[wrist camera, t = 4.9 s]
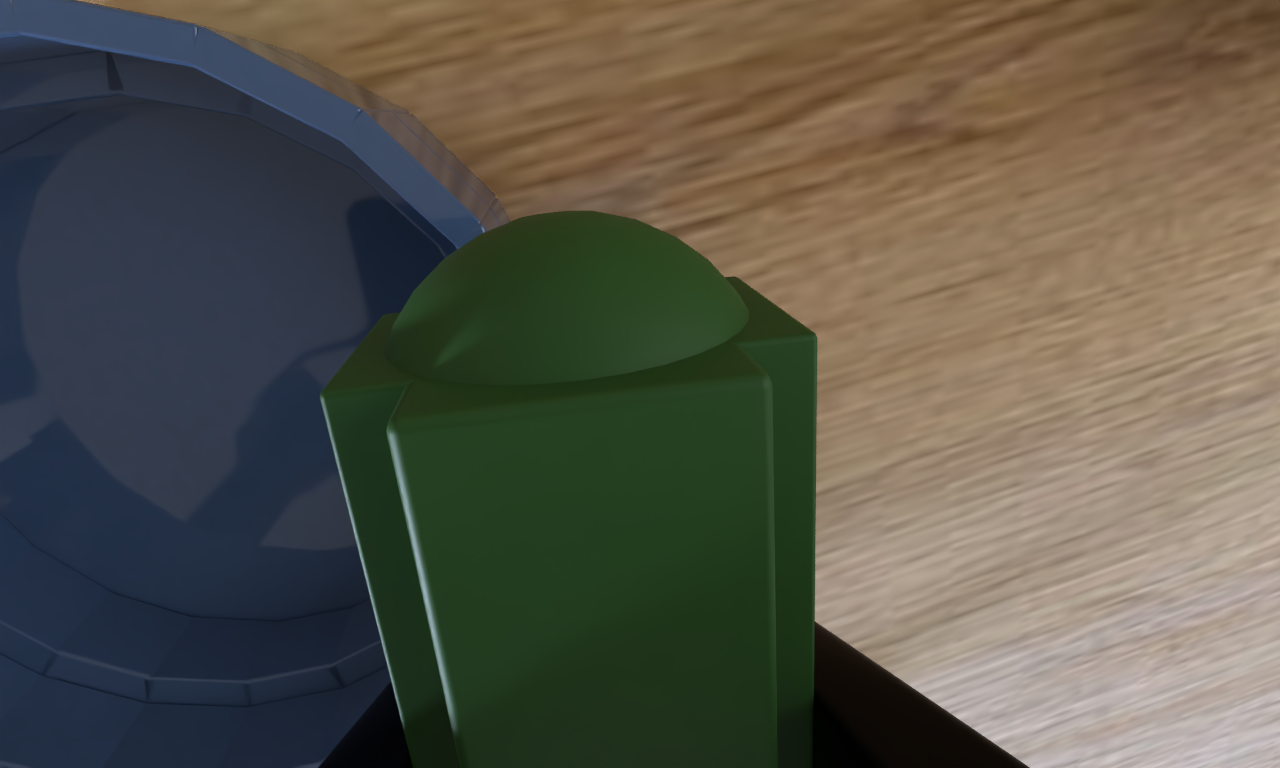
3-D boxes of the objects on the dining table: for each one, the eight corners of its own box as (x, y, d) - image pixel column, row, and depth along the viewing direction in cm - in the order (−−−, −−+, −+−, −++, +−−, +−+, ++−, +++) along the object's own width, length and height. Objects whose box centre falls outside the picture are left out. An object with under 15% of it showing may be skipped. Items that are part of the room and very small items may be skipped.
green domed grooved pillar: (742, 857, 11) (835, 1175, 8) (516, 902, 11) (508, 1258, 7) (716, 177, 8) (866, 217, 4) (377, 209, 7) (238, 280, 4)
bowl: (523, 657, 21) (518, 811, 16) (-75, 626, 18) (-288, 800, 13) (606, 112, 16) (633, 109, 11) (-196, -43, 13) (-593, -131, 9)
